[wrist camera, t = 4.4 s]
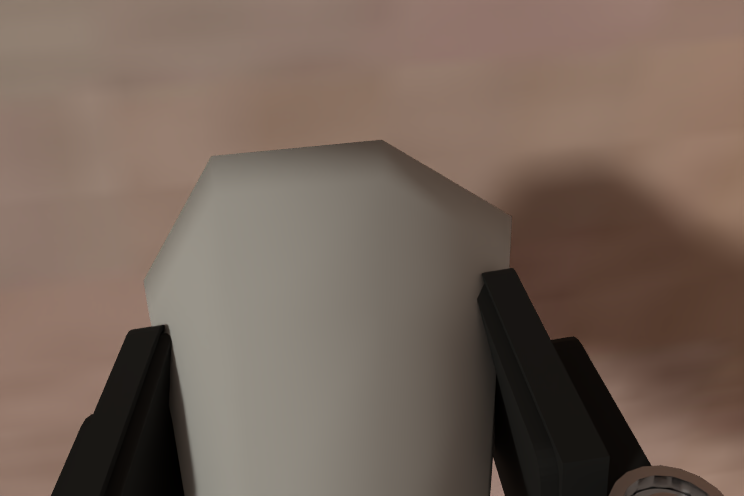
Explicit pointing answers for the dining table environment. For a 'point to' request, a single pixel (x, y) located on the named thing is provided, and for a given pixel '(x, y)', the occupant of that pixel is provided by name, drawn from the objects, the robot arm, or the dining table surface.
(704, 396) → the dining table surface
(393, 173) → the flask
